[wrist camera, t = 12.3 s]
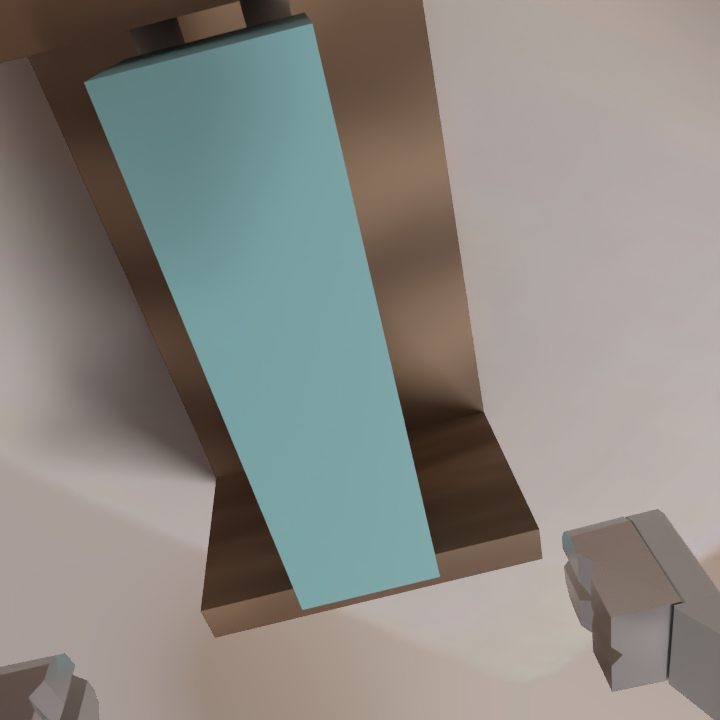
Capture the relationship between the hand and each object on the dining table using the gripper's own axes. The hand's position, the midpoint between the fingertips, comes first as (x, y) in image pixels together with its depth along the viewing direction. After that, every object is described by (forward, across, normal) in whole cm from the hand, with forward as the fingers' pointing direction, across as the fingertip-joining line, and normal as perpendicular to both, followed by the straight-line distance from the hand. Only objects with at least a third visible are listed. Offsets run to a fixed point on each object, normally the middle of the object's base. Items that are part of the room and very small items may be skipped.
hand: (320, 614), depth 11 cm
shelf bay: (+16, 0, +1) cm, 17 cm away
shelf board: (+11, 0, 0) cm, 11 cm away
